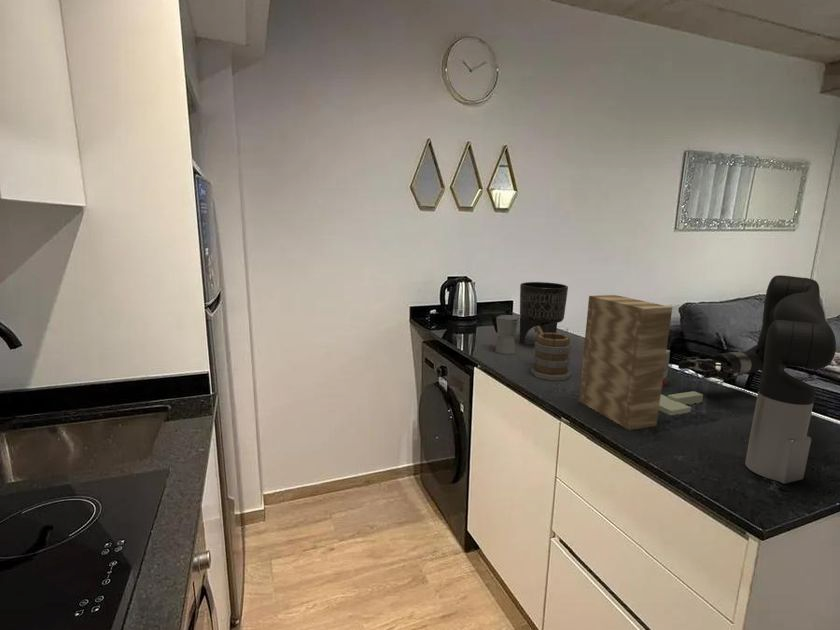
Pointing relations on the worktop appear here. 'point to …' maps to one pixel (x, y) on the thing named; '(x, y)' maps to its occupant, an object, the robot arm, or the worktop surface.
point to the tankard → (551, 356)
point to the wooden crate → (625, 359)
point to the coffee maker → (505, 332)
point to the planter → (541, 306)
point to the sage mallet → (679, 402)
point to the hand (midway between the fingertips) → (691, 370)
